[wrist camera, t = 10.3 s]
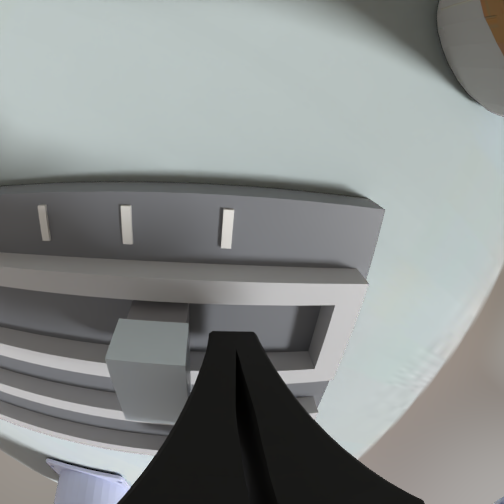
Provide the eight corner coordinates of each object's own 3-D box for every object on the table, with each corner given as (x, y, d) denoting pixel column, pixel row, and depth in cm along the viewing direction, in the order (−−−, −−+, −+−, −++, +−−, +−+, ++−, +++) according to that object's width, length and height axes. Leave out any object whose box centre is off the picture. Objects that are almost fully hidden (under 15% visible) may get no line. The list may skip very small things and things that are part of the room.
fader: (193, 351, 11) (190, 425, 8) (141, 348, 10) (125, 419, 8) (192, 289, 10) (185, 365, 7) (132, 286, 9) (104, 358, 6)
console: (291, 440, 17) (297, 467, 15) (-3, 404, 14) (-12, 425, 12) (369, 198, 10) (400, 220, 8) (-87, 196, 7) (-113, 212, 5)
